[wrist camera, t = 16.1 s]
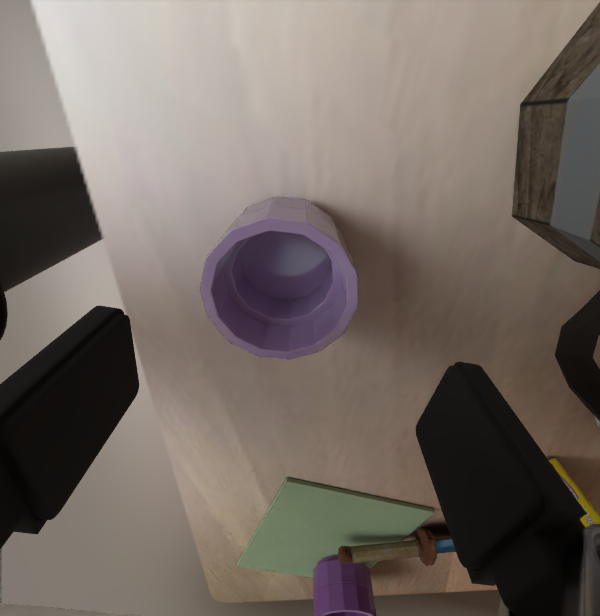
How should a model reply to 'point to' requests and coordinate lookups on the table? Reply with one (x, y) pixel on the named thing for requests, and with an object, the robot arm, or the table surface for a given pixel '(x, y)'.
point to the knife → (398, 549)
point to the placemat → (325, 526)
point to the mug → (567, 186)
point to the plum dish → (342, 589)
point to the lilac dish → (280, 280)
